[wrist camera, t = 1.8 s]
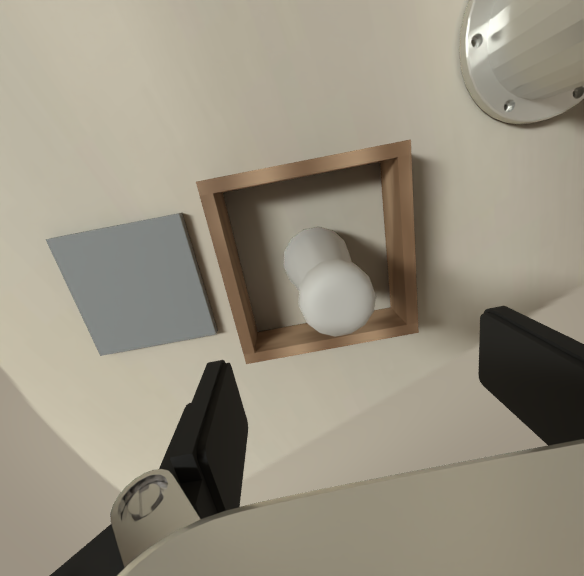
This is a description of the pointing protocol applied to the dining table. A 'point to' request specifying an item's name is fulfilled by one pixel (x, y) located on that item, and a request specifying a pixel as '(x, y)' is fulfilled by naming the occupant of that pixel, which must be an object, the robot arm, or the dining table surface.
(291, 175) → the bin
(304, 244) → the salt shaker
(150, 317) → the mat
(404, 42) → the dining table surface
